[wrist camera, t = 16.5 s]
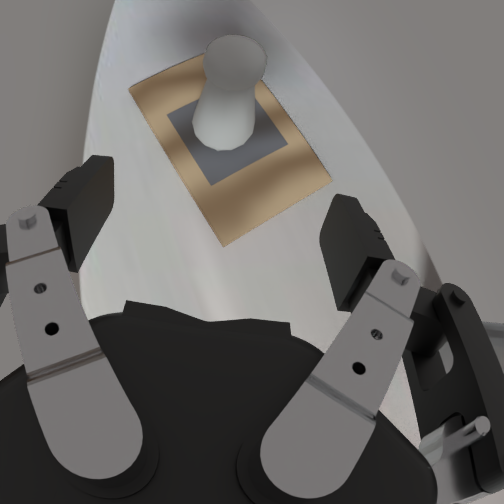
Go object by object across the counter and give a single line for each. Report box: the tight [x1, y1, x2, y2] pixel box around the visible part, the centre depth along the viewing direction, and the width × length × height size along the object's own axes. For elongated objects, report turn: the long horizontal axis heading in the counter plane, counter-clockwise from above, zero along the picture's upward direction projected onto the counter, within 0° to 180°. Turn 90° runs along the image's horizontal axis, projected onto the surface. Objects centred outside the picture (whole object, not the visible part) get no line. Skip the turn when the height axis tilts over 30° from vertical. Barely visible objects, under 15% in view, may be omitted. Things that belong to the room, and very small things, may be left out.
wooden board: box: [129, 54, 332, 247], centre depth 31 cm, size 20×13×1 cm, turn 32°
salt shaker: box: [192, 35, 267, 151], centre depth 24 cm, size 6×6×13 cm
